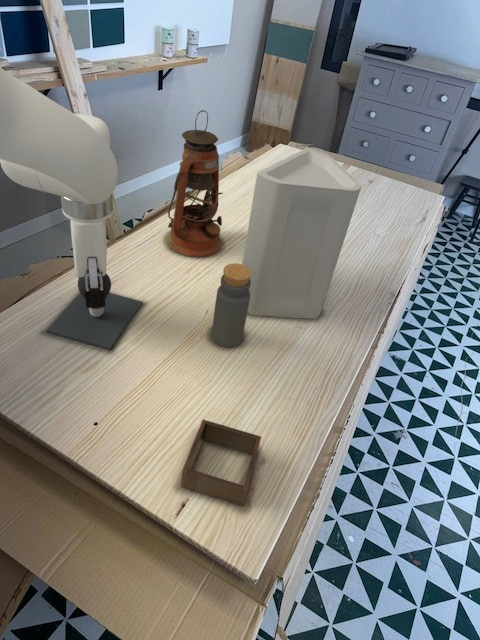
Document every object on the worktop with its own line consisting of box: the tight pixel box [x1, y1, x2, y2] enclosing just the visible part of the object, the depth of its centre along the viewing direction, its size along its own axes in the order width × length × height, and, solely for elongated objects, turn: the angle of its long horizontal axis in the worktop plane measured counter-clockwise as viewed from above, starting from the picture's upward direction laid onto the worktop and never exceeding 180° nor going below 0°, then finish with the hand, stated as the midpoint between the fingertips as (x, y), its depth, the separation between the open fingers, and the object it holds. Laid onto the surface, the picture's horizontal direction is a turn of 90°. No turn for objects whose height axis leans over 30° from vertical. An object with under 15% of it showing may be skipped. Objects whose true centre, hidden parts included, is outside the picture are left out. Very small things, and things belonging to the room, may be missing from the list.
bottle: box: [211, 262, 251, 348], centre depth 82 cm, size 6×6×15 cm
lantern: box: [166, 109, 223, 258], centre depth 101 cm, size 17×13×30 cm
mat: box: [45, 292, 144, 351], centre depth 86 cm, size 14×12×1 cm
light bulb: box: [77, 269, 112, 317], centre depth 83 cm, size 6×6×10 cm
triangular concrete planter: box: [241, 147, 363, 320], centre depth 89 cm, size 19×15×28 cm
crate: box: [180, 419, 262, 507], centre depth 65 cm, size 9×9×4 cm
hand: (94, 294), depth 83 cm, fingers closed on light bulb, 5 cm apart
